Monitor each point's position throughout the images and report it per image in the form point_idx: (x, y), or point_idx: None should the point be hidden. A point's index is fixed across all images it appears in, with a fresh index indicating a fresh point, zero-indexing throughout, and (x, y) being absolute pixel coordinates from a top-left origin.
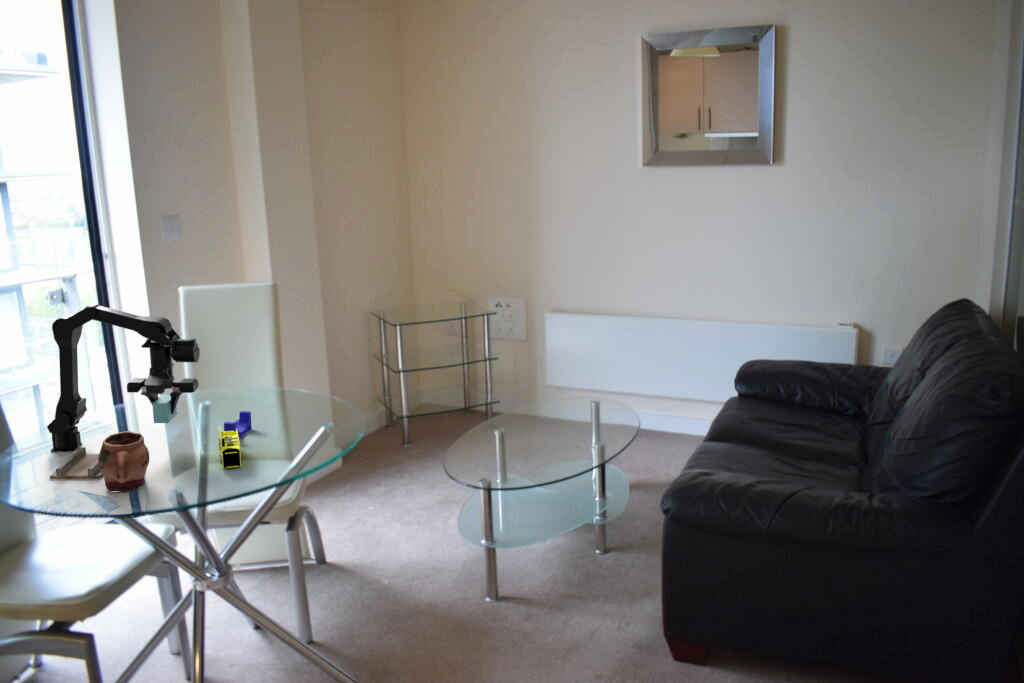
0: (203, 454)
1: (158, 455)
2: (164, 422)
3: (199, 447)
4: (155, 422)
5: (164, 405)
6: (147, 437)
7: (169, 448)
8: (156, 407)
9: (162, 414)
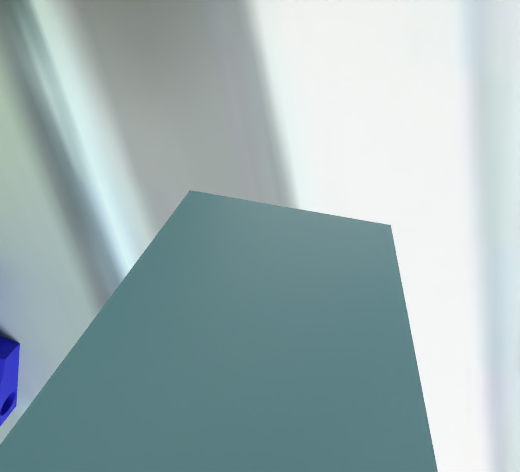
0: (24, 41)
1: (347, 63)
2: (237, 203)
3: (101, 184)
4: (367, 224)
5: (93, 421)
6: (447, 393)
7: (288, 198)
8: (329, 418)
9: (230, 277)
